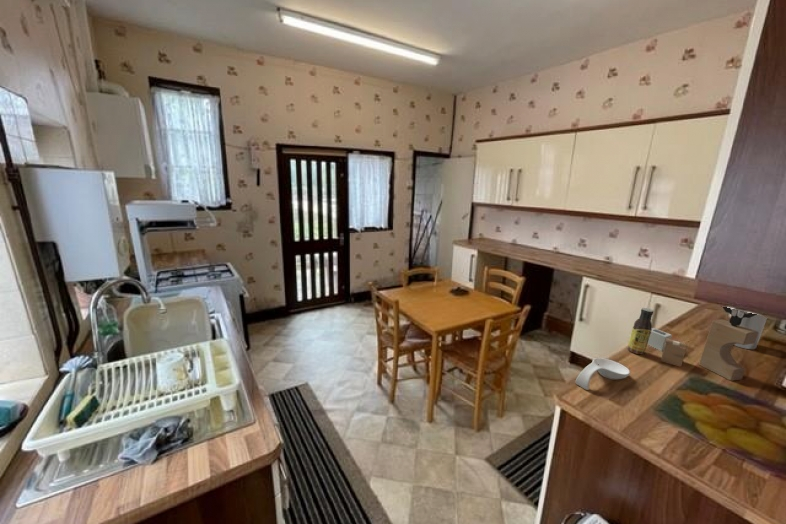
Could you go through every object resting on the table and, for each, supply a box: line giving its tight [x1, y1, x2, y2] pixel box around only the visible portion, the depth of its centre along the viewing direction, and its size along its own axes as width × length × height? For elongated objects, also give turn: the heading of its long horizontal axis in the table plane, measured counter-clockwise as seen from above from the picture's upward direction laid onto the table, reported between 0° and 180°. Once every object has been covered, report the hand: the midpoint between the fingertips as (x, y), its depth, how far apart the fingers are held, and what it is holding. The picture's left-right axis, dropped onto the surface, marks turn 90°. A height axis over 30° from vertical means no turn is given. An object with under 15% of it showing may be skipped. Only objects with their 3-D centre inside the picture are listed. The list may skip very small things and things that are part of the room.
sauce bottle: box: [626, 307, 655, 355], centre depth 133 cm, size 7×6×20 cm
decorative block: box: [698, 318, 758, 382], centre depth 120 cm, size 11×6×20 cm, turn 11°
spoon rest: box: [574, 357, 631, 391], centre depth 116 cm, size 24×12×7 cm, turn 118°
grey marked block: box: [647, 327, 672, 352], centre depth 140 cm, size 5×7×7 cm
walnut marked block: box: [661, 338, 687, 368], centre depth 128 cm, size 6×6×8 cm
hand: (734, 325), depth 117 cm, fingers closed
